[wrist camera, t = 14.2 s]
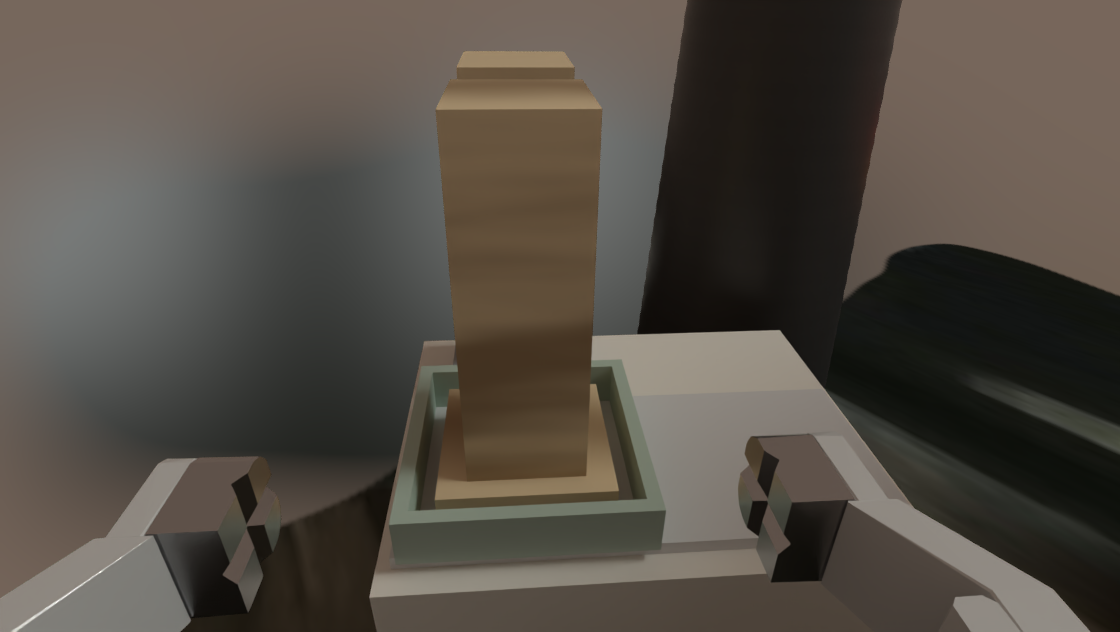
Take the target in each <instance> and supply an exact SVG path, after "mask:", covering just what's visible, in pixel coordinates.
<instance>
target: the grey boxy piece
mask: <svg viewBox="0 0 1120 632" xmlns="http://www.w3.org/2000/svg"><path fill="white" fill-rule="evenodd" d="M574 69H575V67H574V66H573V65H572V63H571V62H570V60H569V59H568V57H567V56H566V54H565V53H564V52H512V51H511V52H510V51H509V52H508V51H504V52H503V51H502V52H501V51H499V52H497V51H484V52H483V51H475V52H474V51H464V53H463V55H462V57H461V59H460V61H459V63H458V65H457V79H574V72H575V71H574ZM590 384H596V386H597V391H598V396H599V400H600V405H601V409H602V414H603V419H604V423H605V428H606V433H607V437H608V442H609V446H610V451H611V456H612V460H613V465H614V470H615V474H616V479H617V484H618V488H619V499H618V501H599V502H579V503H559V504H540V505H520V506H500V507H480V508H461V509H441V510H436V507H435V494H436V486H437V479H438V471H439V464H440V456H441V449H442V441H443V434H444V426H445V419H446V411H447V404H448V396H449V389H459V379H458V367H457V356H456V344H455V340H449V341H448V340H447V341H424V345H423V350H422V354H421V359H420V363H419V368H418V373H417V377H416V382H415V387H414V392H413V396H412V401H411V405H410V410H409V415H408V419H407V424H406V429H405V433H404V438H403V443H402V447H401V452H400V457H399V461H398V466H397V471H396V475H395V480H394V485H393V489H392V494H391V499H390V503H389V508H388V513H387V517H386V522H385V527H384V531H383V536H382V540H381V545H380V550H379V554H378V559H377V564H376V568H375V573H374V578H373V582H372V587H371V592H370V596H369V599H370V603H371V608H372V613H373V617H374V622H375V626H376V631H377V632H874V631H873V630H872V629H870V628H869V627H868V626H867V625H866V624H865V623H864V622H863V621H862V620H860V619H859V618H858V617H857V616H856V615H855V614H854V613H853V612H852V611H850V610H849V609H848V608H847V607H846V606H845V605H844V604H843V603H842V602H841V601H839V600H838V599H837V598H836V597H835V596H834V595H833V594H832V593H831V592H829V591H828V590H827V589H826V588H825V587H824V586H823V585H822V584H821V581H808V582H775V583H771V582H770V580H769V578H768V576H767V573H766V571H765V569H764V566H763V564H762V562H761V560H760V557H759V555H758V553H757V550H756V547H757V542H758V538H759V537H758V536H757V535H756V534H754V533H753V532H752V531H750V530H749V529H748V528H747V527H746V525H745V522H744V520H743V517H742V514H741V510H740V506H739V499H738V484H739V478H740V473H741V472H742V471H743V470H744V469H745V468H746V467H748V466H749V463H748V461H747V459H746V456H745V454H744V453H745V449H746V444H747V442H748V440H749V438H750V437H751V436H766V435H787V434H807V433H815V432H832V431H836V432H838V433H839V434H841V435H842V436H843V437H844V438H845V440H846V441H847V443H848V444H849V445H850V447H851V448H852V449H853V451H854V452H855V454H856V455H857V456H858V458H859V459H860V460H861V462H862V463H863V464H864V466H865V467H866V469H867V470H868V471H869V473H870V474H871V475H872V477H873V478H874V480H875V481H876V482H877V484H878V485H879V486H880V488H881V489H882V490H883V492H884V493H885V495H886V496H887V497H888V499H899V500H900V501H902V502H904V503H906V504H907V505H909V506H911V507H913V506H912V505H911V503H910V502H909V501H908V499H907V498H906V497H905V495H904V494H903V493H902V491H901V490H900V489H899V488H898V486H897V485H896V484H895V482H894V481H893V480H892V478H891V477H890V476H889V474H888V473H887V472H886V470H885V469H884V468H883V466H882V465H881V464H880V462H879V461H878V460H877V458H876V457H875V456H874V454H873V453H872V452H871V450H870V449H869V448H868V446H867V445H866V444H865V442H864V441H863V440H862V438H861V437H860V436H859V435H858V433H857V432H856V431H855V429H854V428H853V427H852V425H851V424H850V423H849V421H848V420H847V419H846V417H845V416H844V415H843V413H842V412H841V411H840V409H839V408H838V407H837V405H836V404H835V403H834V401H833V400H832V399H831V397H830V396H829V395H828V393H827V392H826V391H825V389H824V388H823V387H822V385H821V384H820V383H819V382H818V380H817V379H816V378H815V376H814V375H813V374H812V372H811V371H810V370H809V368H808V367H807V366H806V364H805V363H804V362H803V360H802V359H801V358H800V356H799V355H798V354H797V352H796V351H795V350H794V348H793V347H792V346H791V344H790V343H789V342H788V340H787V339H786V338H785V336H784V335H783V334H782V333H781V331H780V330H768V331H736V332H703V333H671V334H639V335H608V336H592V357H591V380H590ZM913 508H914V507H913Z"/></svg>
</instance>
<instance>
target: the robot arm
mask: <svg viewBox="0 0 1120 632" xmlns="http://www.w3.org/2000/svg"><path fill="white" fill-rule="evenodd" d="M744 454H745V456H746V459H747V461H748V463H749V466H748V467H746V468H745V469H744V470H743V471H742V472H741V473H740V478H739V484H738V499H739V506H740V510H741V514H742V517H743V520H744V522H745V525H746V527H747V528H748V529H749V530H750V531H752V532H753V533H754V534H756V535H757V536H758V537H759V538H758V542H757V547H756V550H757V553H758V555H759V557H760V560H761V562H762V564H763V566H764V569H765V571H766V573H767V576H768V578H769V580H770V582H771V583H775V582H808V581H821V584H822V585H823V586H824V587H825V588H826V589H827V590H828V591H829V592H831V593H832V594H833V595H834V596H835V597H836V598H837V599H838V600H839V601H841V602H842V603H843V604H844V605H845V606H846V607H847V608H848V609H849V610H850V611H852V612H853V613H854V614H855V615H856V616H857V617H858V618H859V619H860V620H862V621H863V622H864V623H865V624H866V625H867V626H868V627H869V628H870V629H872V630H873V631H874V632H1090V631H1089V630H1088V629H1087V627H1086V626H1085V625H1084V624H1083V623H1082V622H1081V621H1080V619H1079V618H1078V617H1077V616H1076V615H1075V614H1074V613H1073V611H1072V610H1071V609H1070V608H1069V607H1068V606H1067V605H1066V603H1065V602H1064V601H1063V600H1062V599H1061V598H1060V597H1059V596H1058V594H1057V593H1056V592H1055V591H1054V590H1053V589H1052V588H1050V587H1048V586H1047V585H1045V584H1043V583H1041V582H1040V581H1038V580H1036V579H1035V578H1033V577H1031V576H1029V575H1028V574H1026V573H1024V572H1023V571H1021V570H1019V569H1017V568H1016V567H1014V566H1012V565H1010V564H1009V563H1007V562H1005V561H1004V560H1002V559H1000V558H998V557H997V556H995V555H993V554H992V553H990V552H988V551H986V550H985V549H983V548H981V547H980V546H978V545H976V544H974V543H973V542H971V541H969V540H968V539H966V538H964V537H962V536H961V535H959V534H957V533H955V532H954V531H952V530H950V529H949V528H947V527H945V526H943V525H942V524H940V523H938V522H937V521H935V520H933V519H931V518H930V517H928V516H926V515H925V514H923V513H921V512H919V511H918V510H916V509H914V508H913V507H911V506H909V505H907V504H906V503H904V502H902V501H900V500H899V499H888V497H887V496H886V495H885V493H884V492H883V490H882V489H881V488H880V486H879V485H878V484H877V482H876V481H875V480H874V478H873V477H872V475H871V474H870V473H869V471H868V470H867V469H866V467H865V466H864V464H863V463H862V462H861V460H860V459H859V458H858V456H857V455H856V454H855V452H854V451H853V449H852V448H851V447H850V445H849V444H848V443H847V441H846V440H845V438H844V437H843V436H842V435H841V434H839V433H838V432H836V431H832V432H815V433H807V434H787V435H766V436H751V437H750V438H749V440H748V442H747V444H746V449H745V453H744ZM270 476H271V473H270V469H269V466H268V463H267V460H266V459H264V458H262V457H210V458H209V457H208V458H198V459H196V458H195V459H194V458H189V459H166V460H164V461H162V462H160V463H159V464H157V466H156V467H155V468H154V470H153V471H152V473H151V474H150V475H149V477H148V478H147V480H146V481H145V482H144V484H143V485H142V487H141V488H140V490H139V491H138V492H137V494H136V495H135V496H134V498H133V499H132V501H131V502H130V503H129V505H128V506H127V508H126V509H125V510H124V512H123V513H122V515H121V516H120V517H119V519H118V520H117V522H116V523H115V525H114V526H113V527H112V529H111V530H110V532H109V533H108V534H107V536H106V537H105V538H95V539H93V540H91V541H90V542H88V543H87V544H85V545H83V546H82V547H80V548H79V549H77V550H75V551H74V552H72V553H71V554H69V555H68V556H66V557H65V558H63V559H61V560H60V561H58V562H57V563H55V564H53V565H52V566H50V567H49V568H47V569H45V570H44V571H42V572H41V573H39V574H38V575H36V576H34V577H33V578H31V579H30V580H28V581H26V582H25V583H24V584H22V585H20V586H19V587H17V588H15V589H14V590H12V591H11V592H9V593H8V594H6V595H4V596H3V597H1V598H0V632H181V631H182V630H183V629H184V628H185V627H186V626H187V625H188V624H189V623H190V622H191V619H190V618H199V617H210V616H222V615H233V614H245V613H249V610H250V608H251V605H252V603H253V600H254V598H255V595H256V593H257V591H258V588H259V586H260V583H261V581H262V578H263V573H262V570H261V567H260V563H261V562H262V561H263V560H264V559H266V558H267V557H268V556H269V555H270V554H272V553H273V551H274V548H275V545H276V543H277V540H278V537H279V531H280V524H281V510H280V503H279V499H278V496H277V494H276V493H274V492H273V491H272V490H271V489H269V488H268V487H267V486H266V485H267V483H268V481H269V479H270Z"/></svg>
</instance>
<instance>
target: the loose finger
mask: <svg viewBox="0 0 1120 632" xmlns="http://www.w3.org/2000/svg"><path fill="white" fill-rule="evenodd" d="M436 120H437V132H438V143H439V156H440V167H441V179H442V191H443V202H444V214H445V226H446V238H447V249H448V261H449V272H450V285H451V296H452V308H453V320H454V331H455V344H456V356H457V367H458V379H459V389H449V396H448V404H447V411H446V419H445V426H444V434H443V441H442V449H441V456H440V464H439V471H438V479H437V486H436V494H435V507H436V510H441V509H461V508H480V507H500V506H520V505H540V504H559V503H579V502H599V501H618V499H619V488H618V484H617V479H616V474H615V470H614V465H613V460H612V456H611V451H610V446H609V442H608V437H607V433H606V428H605V423H604V419H603V414H602V409H601V405H600V400H599V396H598V391H597V386H596V384H590V380H591V357H592V334H593V311H594V286H595V265H596V264H595V263H596V242H597V241H596V240H597V219H598V196H599V195H598V194H599V173H600V150H601V125H602V108H601V106H600V105H599V103H598V102H597V100H596V99H595V98H594V96H593V95H592V93H591V92H590V90H589V89H588V87H587V86H586V84H585V83H584V81H583V80H582V79H451V80H450V81H449V83H448V85H447V87H446V89H445V91H444V93H443V96H442V98H441V100H440V102H439V104H438V106H437V108H436Z"/></svg>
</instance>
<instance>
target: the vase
mask: <svg viewBox="0 0 1120 632" xmlns="http://www.w3.org/2000/svg"><path fill="white" fill-rule="evenodd" d="M901 3H902V0H688V1H687V7H686V12H685V18H684V28H683V33H682V38H681V47H680V54H679V59H678V65H677V74H676V79H675V84H674V94H673V100H672V104H671V115H670V120H669V125H668V134H667V140H666V145H665V154H664V160H663V165H662V174H661V179H660V184H659V194H658V199H657V205H656V214H655V218H654V227H653V233H652V237H651V248H650V252H649V260H648V266H647V272H646V280H645V285H644V295H643V299H642V306H641V307H642V308H641V313H640V319H639V327H638V333H637V335H639V334H671V333H703V332H736V331H768V330H780V331H781V333H782V334H783V335H784V336H785V338H786V339H787V340H788V342H789V343H790V344H791V346H792V347H793V348H794V350H795V351H796V352H797V354H798V355H799V356H800V358H801V359H802V360H803V362H804V363H805V364H806V366H807V367H808V368H809V370H810V371H811V372H812V374H813V375H814V376H815V378H816V379H817V380H818V382H819V383H820V384H821V385H822V387H823V388H824V389H825V385H826V381H827V375H828V370H829V366H830V360H831V355H832V351H833V346H834V340H835V336H836V332H837V324H838V320H839V317H840V309H841V305H842V301H843V295H844V289H845V285H846V281H847V274H848V269H849V266H850V260H851V254H852V250H853V246H854V238H855V233H856V230H857V226H858V218H859V214H860V210H861V206H862V198H863V193H864V190H865V186H866V178H867V173H868V169H869V166H870V158H871V153H872V149H873V145H874V139H875V132H876V128H877V124H878V120H879V113H880V112H879V111H880V108H881V104H882V100H883V94H884V86H885V82H886V79H887V75H888V68H889V61H890V57H891V54H892V49H893V42H894V36H895V32H896V28H897V24H898V18H899V11H900V7H901Z"/></svg>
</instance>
